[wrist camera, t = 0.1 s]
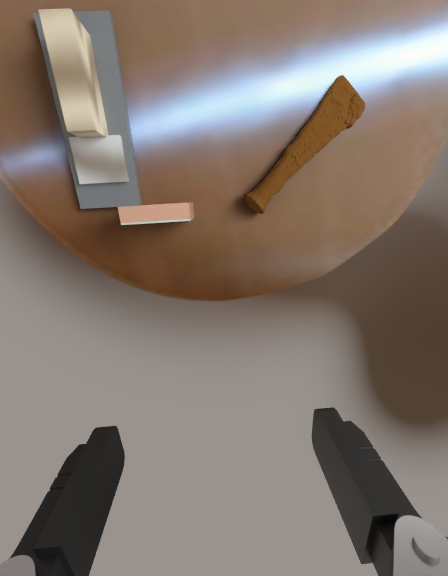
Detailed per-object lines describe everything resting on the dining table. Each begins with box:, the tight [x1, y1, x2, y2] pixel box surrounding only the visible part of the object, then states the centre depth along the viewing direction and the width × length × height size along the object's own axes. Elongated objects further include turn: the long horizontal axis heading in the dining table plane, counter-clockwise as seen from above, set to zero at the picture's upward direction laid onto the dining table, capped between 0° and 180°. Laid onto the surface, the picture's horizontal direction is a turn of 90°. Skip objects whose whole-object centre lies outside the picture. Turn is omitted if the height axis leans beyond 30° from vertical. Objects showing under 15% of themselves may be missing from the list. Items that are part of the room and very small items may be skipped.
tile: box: [118, 202, 194, 225], centre depth 31 cm, size 2×8×7 cm, turn 93°
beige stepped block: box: [39, 9, 129, 184], centre depth 28 cm, size 15×6×4 cm, turn 3°
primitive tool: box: [244, 75, 365, 214], centre depth 32 cm, size 19×6×4 cm, turn 140°
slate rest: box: [33, 11, 142, 209], centre depth 30 cm, size 20×8×1 cm, turn 3°
